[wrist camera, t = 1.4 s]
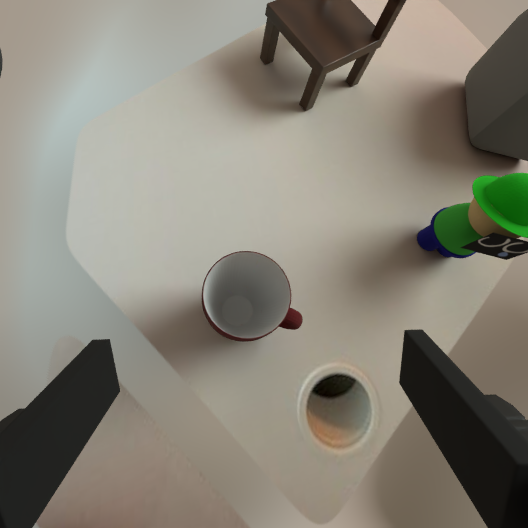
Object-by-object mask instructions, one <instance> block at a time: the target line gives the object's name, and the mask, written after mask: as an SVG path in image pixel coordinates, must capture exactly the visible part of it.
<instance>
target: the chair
mask: <svg viewBox="0 0 528 528" xmlns="http://www.w3.org/2000/svg"><path fill="white" fill-rule="evenodd" d="M405 2H406V0H388V2H387V4H386V6H385V8H384V10H383V12H382V14H381V16H380V18H379V20H378V22H377V24H376V26H375V25H374V24H373V23H372V22H371V21H370V20H369V19H368V18H367V17H366V16H365V15H364V14H363V13H362V11H361V10H360V9H359V8H358V7H357V6H356V5H355V4H354V3H353V2H352V1H351V0H276V1H273V2H270V3H268V4H267V8H266V13H265V15H266V16H267V22H266V28H265V33H264V39H263V44H262V50H261V55H260V59H261V60H262V61H263V62H264V63H265V64H268V63H270V62H273V59H274V54H275V50H276V45H277V41H278V37H279V32H281V33H282V35H283V36H284V37H285V38H286V39H287V40H288V41H289V43H290V44H291V45H292V46H293V47H294V48H295V49H296V51H297V52H298V53H299V54H300V55H301V56H302V57H303V59H304V60H305V61H306V62H307V63H308V64H309V65H310V67H311V68H312V71H311V74H310V77H309V79H308V82H307V85H306V88H305V90H304V93H303V96H302V99H301V101H300V106H301V107H302V108H303V109H304V110H305V111H307V110H309V109H311V108H312V107H313V105H314V103H315V100H316V98H317V95H318V93H319V91H320V88H321V86H322V84H323V81H324V79H325V76H326V74H327V73H329V72H331V71H333V70H335V69H337V68H339V67H341V66H343V65H345V64H347V63H349V62H351V61H353V60H355V59H356V61H355V63H354V65H353V67H352V69H351V71H350V73H349V75H348V77H347V79H346V81H347V82H348V84H349V85H350V86H351V87H352V86H354V85H356V84H358V82H359V80H360V78H361V77H362V75H363V73H364V71H365V69H366V67H367V66H368V64H369V62H370V60H371V58H372V56H373V55H374V53H375V51H376V49H377V48H379V47H381V45H382V43H383V41H384V39H385V38H386V36H387V34H388V32H389V31H390V29H391V27H392V25H393V23H394V21H395V20H396V18H397V16H398V14H399V12H400V11H401V9H402V7H403V5H404V3H405Z"/></svg>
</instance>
